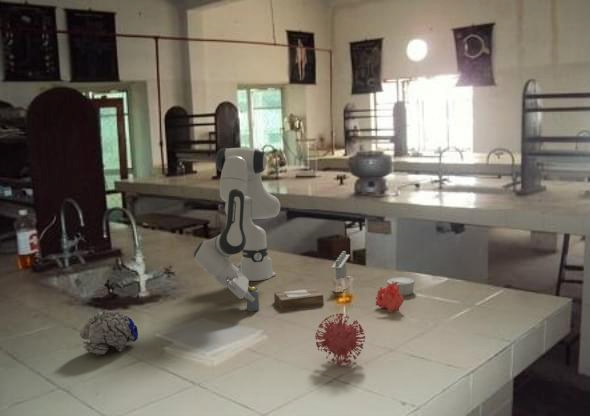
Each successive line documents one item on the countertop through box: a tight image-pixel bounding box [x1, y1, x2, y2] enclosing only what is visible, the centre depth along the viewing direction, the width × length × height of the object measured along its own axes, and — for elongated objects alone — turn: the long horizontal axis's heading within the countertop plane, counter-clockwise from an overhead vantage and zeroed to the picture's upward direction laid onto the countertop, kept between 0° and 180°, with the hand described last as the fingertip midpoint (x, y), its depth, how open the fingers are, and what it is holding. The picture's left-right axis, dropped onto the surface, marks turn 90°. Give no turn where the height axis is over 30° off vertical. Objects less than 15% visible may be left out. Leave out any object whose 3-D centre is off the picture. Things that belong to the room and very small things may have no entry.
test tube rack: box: [330, 250, 352, 293], centre depth 276 cm, size 25×4×13 cm, turn 166°
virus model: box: [314, 313, 366, 365], centre depth 188 cm, size 15×15×15 cm
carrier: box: [246, 287, 260, 312], centre depth 247 cm, size 6×4×8 cm
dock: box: [273, 287, 325, 311], centre depth 251 cm, size 12×17×4 cm
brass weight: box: [249, 286, 257, 292], centre depth 246 cm, size 3×3×2 cm
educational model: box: [79, 309, 139, 356], centre depth 208 cm, size 14×20×15 cm
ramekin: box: [386, 276, 415, 297], centre depth 260 cm, size 11×11×5 cm
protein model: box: [375, 282, 405, 314], centre depth 238 cm, size 9×12×12 cm
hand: (254, 297), depth 247 cm, fingers closed on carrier, 5 cm apart
